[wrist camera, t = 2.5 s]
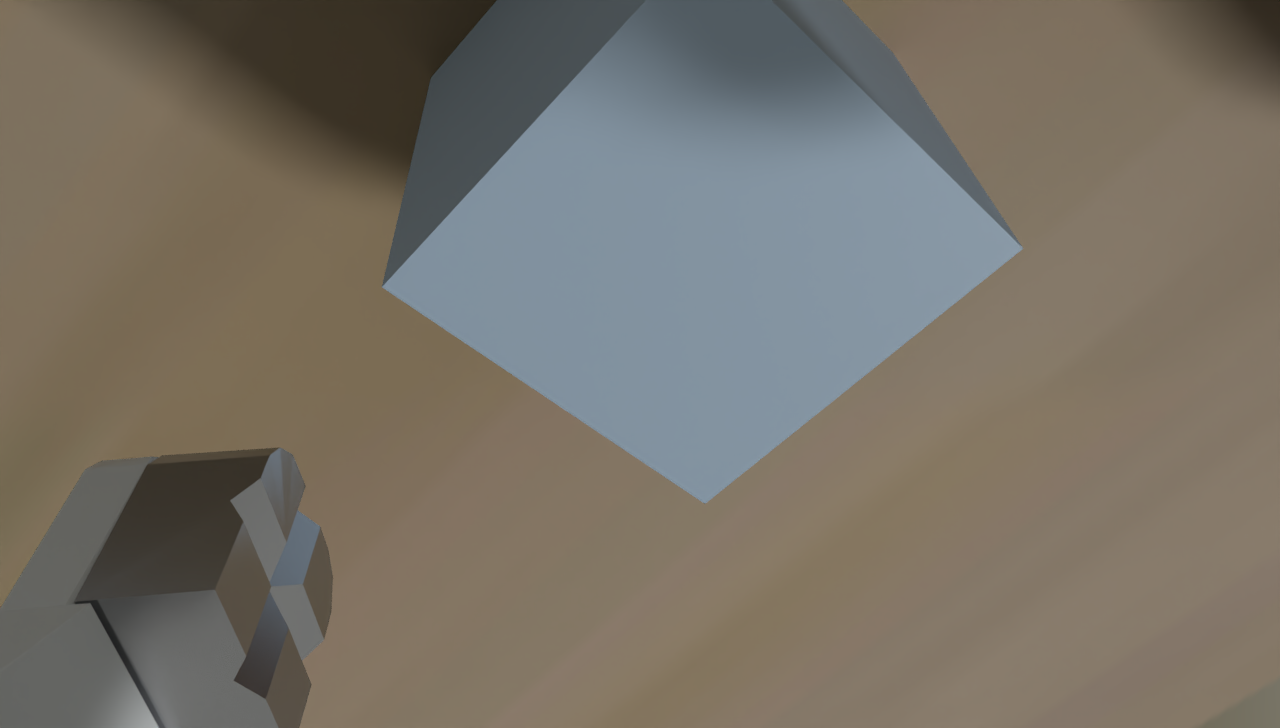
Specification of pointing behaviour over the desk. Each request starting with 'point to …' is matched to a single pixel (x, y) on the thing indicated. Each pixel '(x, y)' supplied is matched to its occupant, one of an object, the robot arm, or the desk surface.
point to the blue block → (686, 216)
